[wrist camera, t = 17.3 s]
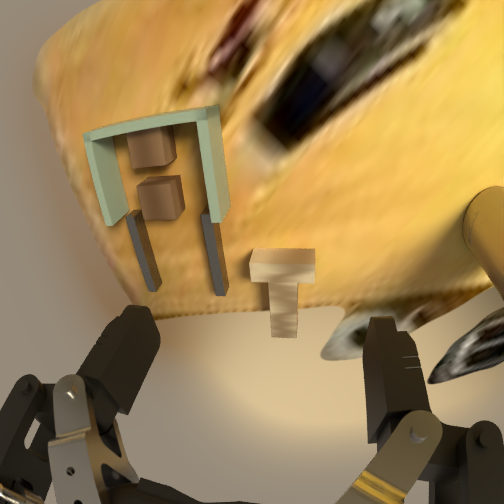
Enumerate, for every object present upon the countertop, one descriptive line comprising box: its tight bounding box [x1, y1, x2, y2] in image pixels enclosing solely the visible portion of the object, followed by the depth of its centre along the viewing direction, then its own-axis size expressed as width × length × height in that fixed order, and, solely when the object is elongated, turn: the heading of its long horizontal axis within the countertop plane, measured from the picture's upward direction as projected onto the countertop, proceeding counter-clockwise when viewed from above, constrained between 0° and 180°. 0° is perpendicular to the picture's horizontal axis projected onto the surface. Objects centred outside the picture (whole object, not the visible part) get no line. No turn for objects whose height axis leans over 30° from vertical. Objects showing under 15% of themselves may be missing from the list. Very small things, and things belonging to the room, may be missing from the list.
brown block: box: [126, 125, 177, 168], centre depth 28 cm, size 4×4×3 cm
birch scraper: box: [249, 248, 315, 338], centre depth 36 cm, size 7×3×12 cm
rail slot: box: [125, 207, 229, 296], centre depth 36 cm, size 11×11×2 cm
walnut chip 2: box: [137, 175, 185, 220], centre depth 32 cm, size 4×4×3 cm
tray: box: [83, 105, 231, 226], centre depth 29 cm, size 14×11×4 cm
